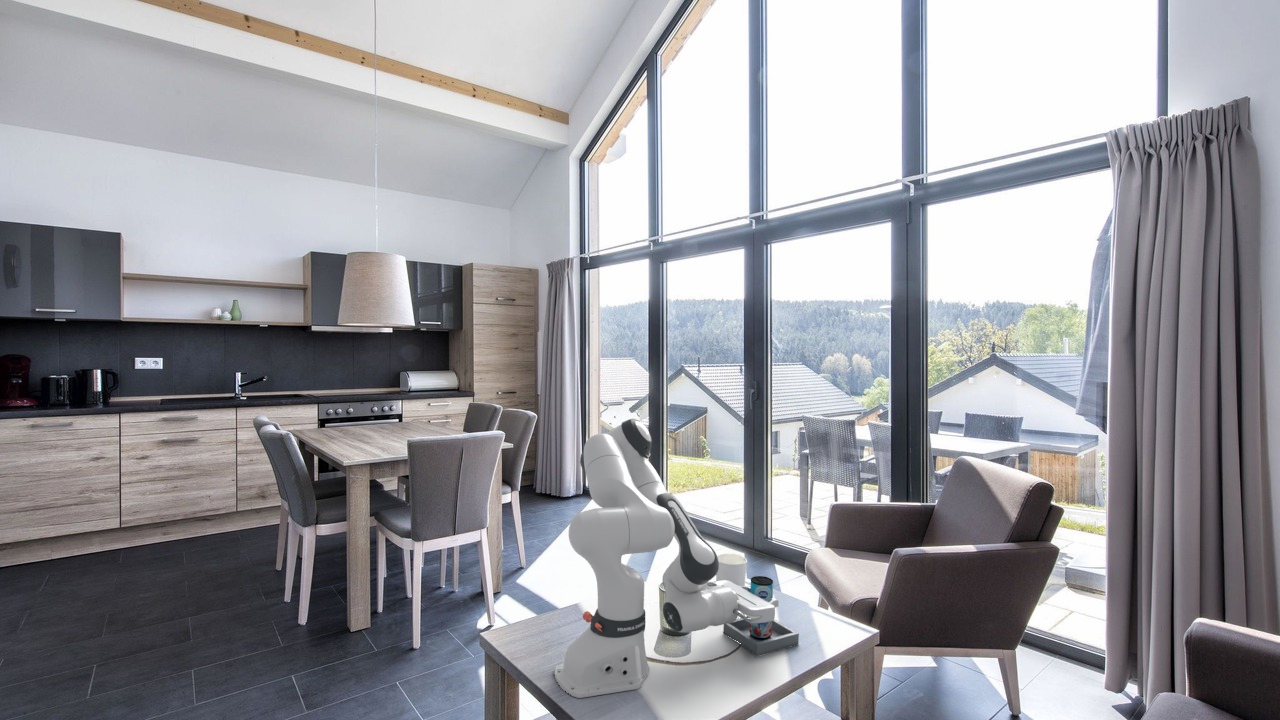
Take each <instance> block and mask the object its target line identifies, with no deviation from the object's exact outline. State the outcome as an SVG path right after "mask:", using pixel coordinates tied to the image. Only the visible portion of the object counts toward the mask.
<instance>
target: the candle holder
mask: <svg viewBox="0 0 1280 720" xmlns="http://www.w3.org/2000/svg"><path fill="white" fill-rule="evenodd" d="M717 557H718V561H719V569H718V572H717V574H716V575H715V577H716V578H715V580H716V581H720V580H727V581H731V582H732V583H734V584H736V585H738V586H746V573H747V563H748V559H747V558H746V557H745V556H743V555H740V554H736V553H721V554H718V555H717Z"/></svg>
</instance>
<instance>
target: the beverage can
mask: <svg viewBox="0 0 1280 720" xmlns="http://www.w3.org/2000/svg"><path fill="white" fill-rule="evenodd" d="M750 586H751V587H750V593H752V594H754V595H756V596H758V597H759V598H761V599H763V600H765V601H768V602H770V599H773V598H774V588H773V587H774V581H773V579H772V578H770V577H767V576H764V575H763V576H762V575H755V576H752V577H751V578H750ZM749 632H750V635H751V636H752V637H753V638H756V639H760V640H766V639H769V638H770V637H771V635H772V621H770V622H764V623H756V624H754V623H750V627H749Z"/></svg>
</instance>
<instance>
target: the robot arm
mask: <svg viewBox="0 0 1280 720" xmlns="http://www.w3.org/2000/svg"><path fill="white" fill-rule="evenodd" d="M651 449H652V436H651V434H650V431H649V429H648V427H646V425H645V424H643V422H641V421H640V420H639V419H636V418H630V419H626V420H625V421H623V422H621V424H620V425H617V426H616V427H614V428H613V429H611V430H609V431H607V432H606V433H596V434H594V435H592V436H590V437H589V438H588V439H587V440H586V442H585V443H584V446H583V452H581V454H580V461H579V464H580V467H581V469H582V471H583V472H584V473H585V477H586V480H587V481H586V482H587V485H588V489H589V494H590V497H591V499H592V500H593V502H594V503H595V504H596V505H597V506H599V507H598V508H597V507H596V508H592V509H588V510H584V511H582V512H577V513H576V514H575V515H574V517H573V518H572V520H571V522H570V524H569V527H568V540H569V543H570V545H571V548H572V549H573V551H575V553H576V554H578V555H579V556H580V557H582V558H583V559H584V560H585V561H587V563H588V564H589V565H590V567H591V569H592V570H593V572H594V575H595V580H596V588H597V589H596V590H597V607H596V608H597V609H596V610H595V612H594V615H593V614H592V613H591V612H590V611H585V612H584V613H582V619H583V620H584V621H585V622H586V623H590V624H589V627H588V628H587V629H586V630H585V631H583V633H582V634H580V636H578V638H576V639H575V640H574V641H573V642H572V643H570V644H569V645H568V647H567V648H566V649H567V650H566V652H565V655H564V662H562V663H560V664H558V665H556V666H555V668H554V673H553V674H554V675H555V676H554V679H555V681H556V682H558V683H557V684H558V686H559V685H560V686H559V687H560V688H561V690H563V691H564V692H565V691H566V692H565V693H566V694H568V693H569V694H568V695H570V694H571V695H570V696H572V697H574V698H577V699H578V698H579V699H581V698H582V699H583V698H588V697H594V696H595V697H596V696H601V695H607V694H614V693H619V692H626V691H632V690H638V689H639V690H640V688H642V686H643V681H644V680H645V678H646V677H647V676H648V675H649V673H650V666H649V663H648V659H647V658H648V657H647V653H646V644H645V630H646V610H645V581H644V578H643V576H642V574H641V573H640V572H639V571H638V570H636V569H634V568H633V567H631V566H628V565H626V564H624V563H622V556H623V555H624V556H625V555H633V554H643V553H653V552H654V551H659V550H662V549H664V548H667V547H669V545H670V544H671V543H672V541H673V539H674V538H675V540H676V542H677V544H678V549H679V550H678V554H677V556H676V557H675V558H674V559H673V561H672V562H671V563H670V564H669V565H668V567H667V568H666V569H665V571H664V573H663V574H662V585H663V588H664V594H665V595H664V596H665V597H664V598H665V599H664V603H663V605H662V614H663V617H664V618H663V619H664V620H665V622H666V624H667V625H668V627H669V628H670V629H671V630H673V631H674V632H677V633H692V632H697V631H702V630H705V629H707V628H709V627H711V626H712V627H718V626H724V624H727V623H731V622H734V621H735V620H736V619H738V617H739V618H742V619H744V620H745V621H747V622H749V623H754V624H756V623H764V622H770V621H773V620H774V619H775V618H776V608H778V606H779V600H778V599H777V598H775V597H773V599H770V602H768V601H765V600H763V599H761V598H759V597H758V596H756V595H754V594H752V593H750V587H751V585H745V586H738V585H736V584H734V583H732V582H731V581H727V580H720V581H711V580H712V579H713V578H715V577H716V574H717V572H718V569H719V561H718V557H717V556H718V555H717V553H716V551H715V549H714V548H713V547H712V546H711V544H709V543H708V542H707V540H705V539H704V537H703V535H702V534H701V532H700V531H699V530H698V528H697V527H696V525H695V524H694V522H693V520H692V519H691V517H690V516H689V514H688V513H687V511H686V509H685V507H684V506H683V505H682V503H681V502H680V501H679V499H678V498H677V497H676V496H675V495H673V494H672V493H669V492H668V490H667V488H666V487H665V485H664V483H663V481H662V479H661V477H660V475H659V474H658V472H657V470H656V469H655V468H654V466H653V465H652V463H651V462H650V461H649V460H648V459H649V458H650V457H651Z"/></svg>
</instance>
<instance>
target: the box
mask: <svg viewBox="0 0 1280 720" xmlns="http://www.w3.org/2000/svg"><path fill="white" fill-rule="evenodd" d="M749 627H750V623H749V622H747V621H745V620H744V619H742V618H741V617H739V618H737V619H736V620H735V621H734V622H731V623H727V624H723V631H722V633H724V635H725V636H726V635H727V637H728V636H729V637H731V638H732V639H734V640H736V641H738V642H739V643H741V645H742V646H741V645H740V646H741V647H742V648H744V649H745V650H747V651H749V653H751V654H752V655H754V656H756V657H761V656H764V655H767V654H771V653H774V652H777V651H782V650H784V649H788V647H789V648H791V647H790V646H792V647H795V646H798V645H799V637H800V636H799V635H800V633H799V632H797V631H796V630H795V629H792V628H791V627H789V626H787V625H785V624H784V623H782V622H780V621H778V620H776V619H775V618H774V620H773V621H772V635H771V637H770V638H769V639H766V640H760V639H756V638H753V637H752V636H751V635H750V632H749ZM729 637H728V638H729ZM731 638H730V639H731ZM732 639H731V640H732ZM734 640H733V641H734ZM797 644H798V645H797ZM794 645H795V646H794Z"/></svg>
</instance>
